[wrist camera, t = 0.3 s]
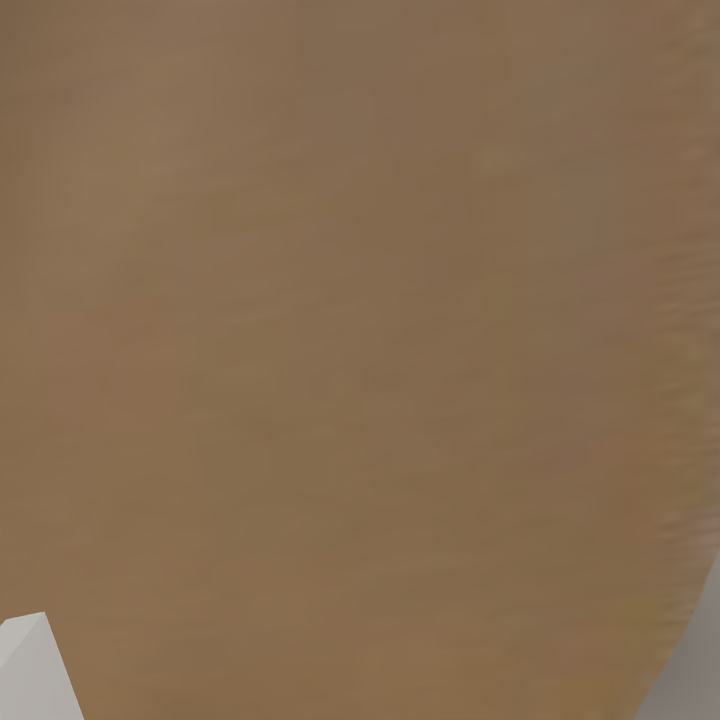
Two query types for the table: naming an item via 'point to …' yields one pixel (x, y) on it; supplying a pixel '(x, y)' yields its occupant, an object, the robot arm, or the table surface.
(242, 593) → the table surface
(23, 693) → the robot arm
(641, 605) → the table surface
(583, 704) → the table surface
